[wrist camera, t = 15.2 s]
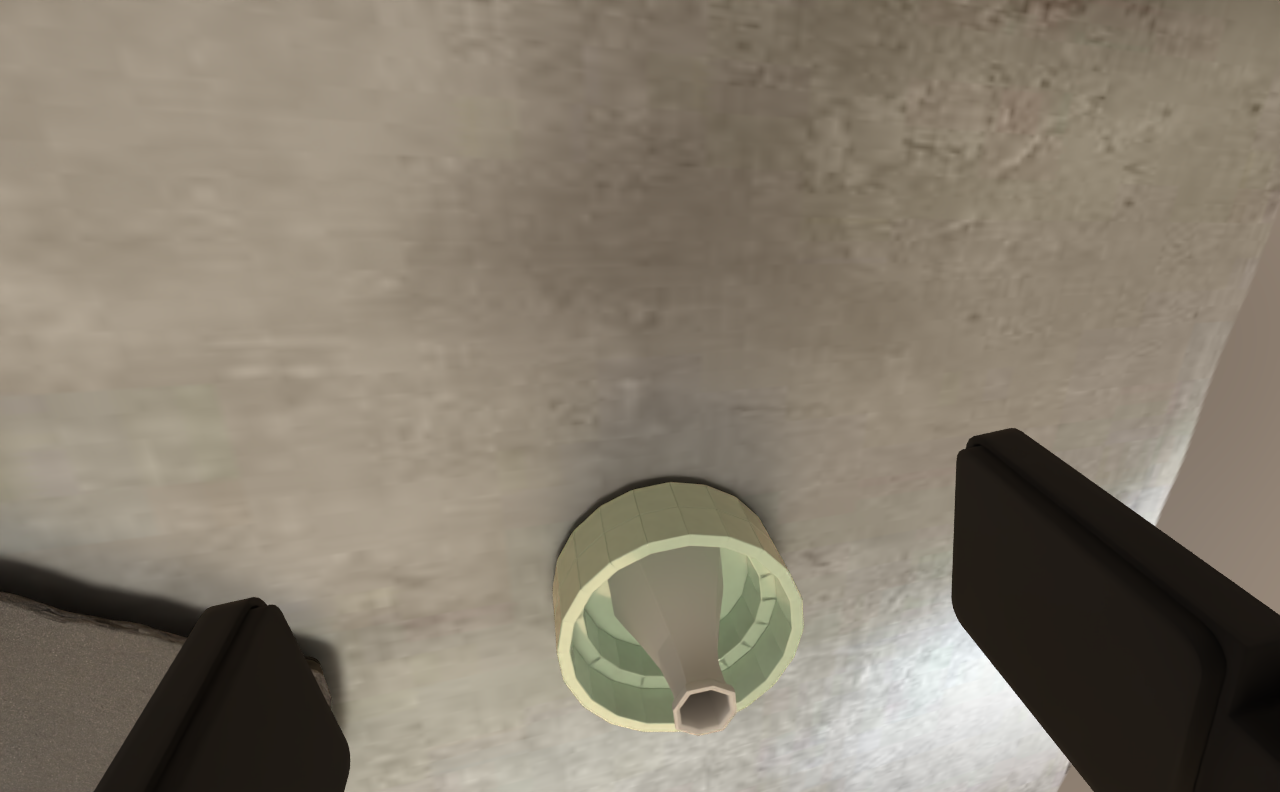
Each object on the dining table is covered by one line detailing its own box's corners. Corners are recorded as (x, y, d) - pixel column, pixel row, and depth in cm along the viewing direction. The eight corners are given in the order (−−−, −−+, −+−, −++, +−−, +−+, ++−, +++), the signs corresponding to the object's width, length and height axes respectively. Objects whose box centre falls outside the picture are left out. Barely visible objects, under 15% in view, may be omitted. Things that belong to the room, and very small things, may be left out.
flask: (736, 532, 42) (796, 655, 33) (708, 628, 44) (757, 766, 35) (617, 523, 40) (646, 649, 31) (596, 623, 43) (617, 766, 34)
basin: (760, 455, 41) (797, 511, 35) (774, 629, 46) (807, 701, 41) (532, 501, 40) (534, 567, 34) (574, 675, 45) (582, 755, 40)
